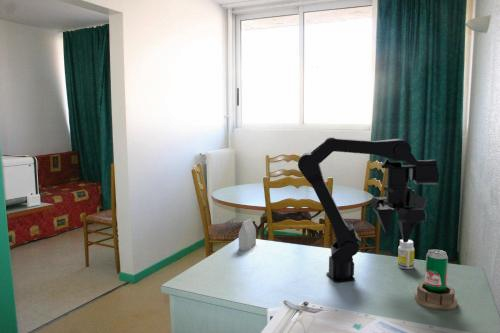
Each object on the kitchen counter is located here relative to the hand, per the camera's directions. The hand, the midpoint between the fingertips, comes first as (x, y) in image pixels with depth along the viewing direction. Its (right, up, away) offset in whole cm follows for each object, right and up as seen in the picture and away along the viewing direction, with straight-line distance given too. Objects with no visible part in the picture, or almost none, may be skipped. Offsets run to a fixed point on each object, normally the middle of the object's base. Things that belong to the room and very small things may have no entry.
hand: (395, 237), depth 116 cm
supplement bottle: (+8, -12, +13) cm, 19 cm away
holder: (+6, -15, -11) cm, 19 cm away
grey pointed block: (-43, -9, +33) cm, 55 cm away
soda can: (+6, -14, -11) cm, 19 cm away
